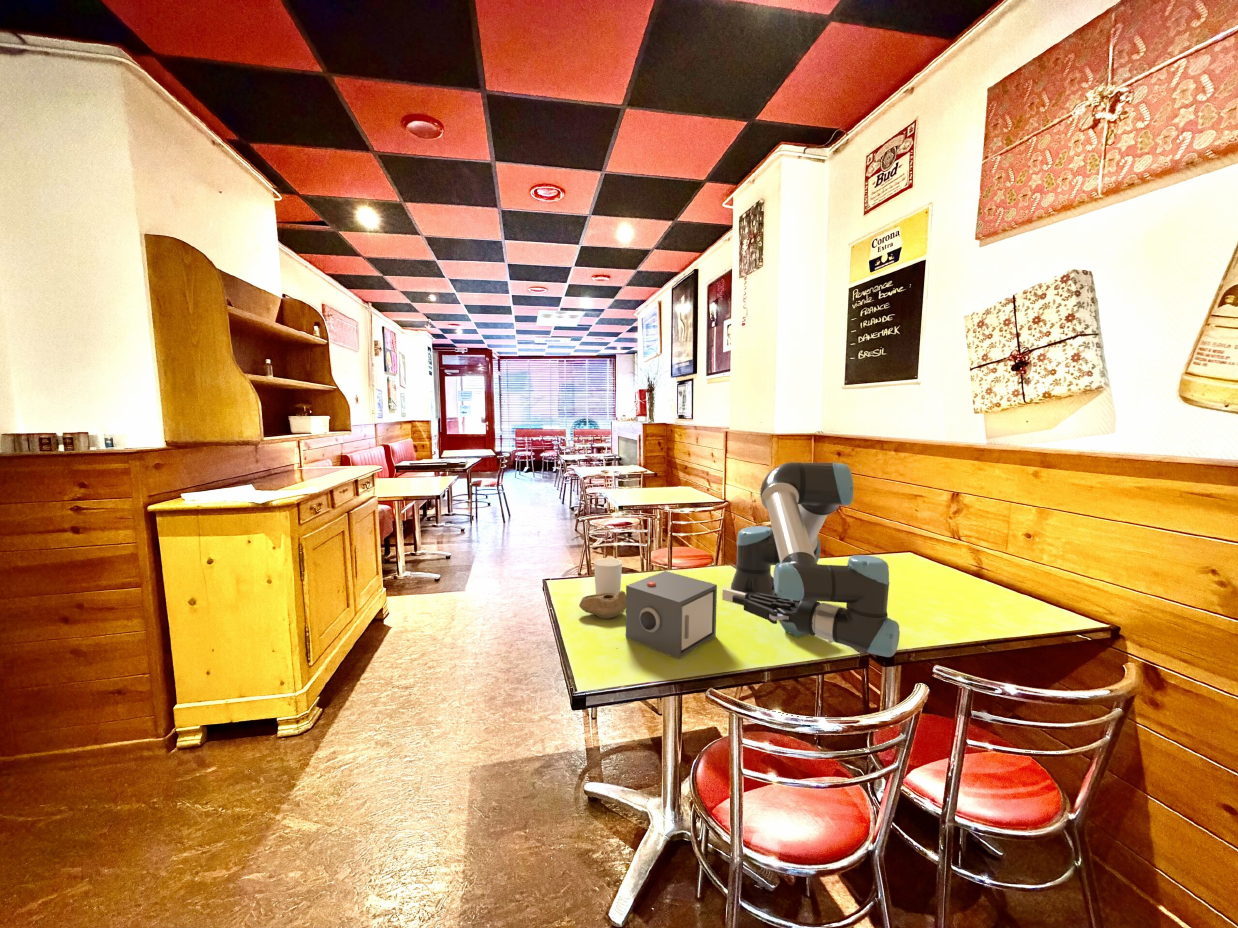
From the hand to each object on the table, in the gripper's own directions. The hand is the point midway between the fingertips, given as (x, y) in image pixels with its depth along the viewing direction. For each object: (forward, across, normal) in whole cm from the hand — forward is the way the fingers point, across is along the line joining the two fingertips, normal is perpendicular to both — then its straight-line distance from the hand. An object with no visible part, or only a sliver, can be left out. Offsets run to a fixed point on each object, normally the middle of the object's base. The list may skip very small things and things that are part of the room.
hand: (724, 593), depth 122 cm
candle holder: (+52, +12, -17) cm, 56 cm away
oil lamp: (+41, -2, -17) cm, 45 cm away
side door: (+8, +1, -15) cm, 17 cm away
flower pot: (-8, +28, -17) cm, 34 cm away
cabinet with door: (+17, +1, -17) cm, 24 cm away
